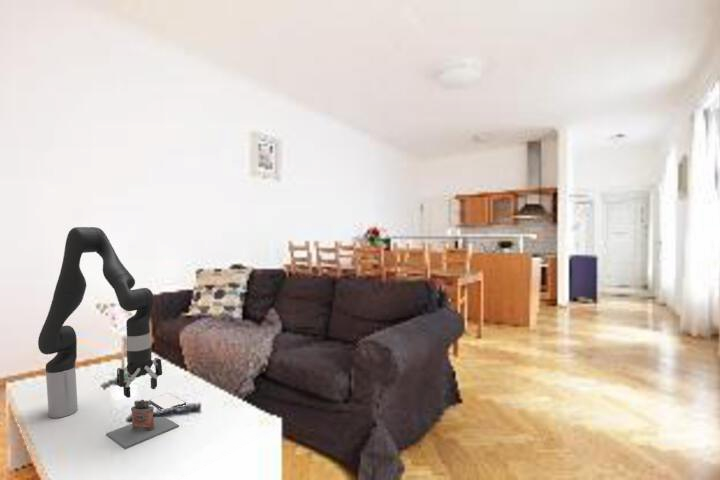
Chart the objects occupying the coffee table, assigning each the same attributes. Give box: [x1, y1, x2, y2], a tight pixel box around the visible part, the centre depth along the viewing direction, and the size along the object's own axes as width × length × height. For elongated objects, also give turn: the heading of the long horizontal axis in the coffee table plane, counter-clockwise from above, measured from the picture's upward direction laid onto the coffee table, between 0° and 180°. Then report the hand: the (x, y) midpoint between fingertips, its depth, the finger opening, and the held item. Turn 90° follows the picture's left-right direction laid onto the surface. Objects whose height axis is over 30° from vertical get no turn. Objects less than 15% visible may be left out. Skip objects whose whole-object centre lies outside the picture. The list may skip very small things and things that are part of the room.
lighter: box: [130, 399, 155, 431], centre depth 147 cm, size 8×3×10 cm, turn 79°
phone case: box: [148, 393, 187, 409], centre depth 169 cm, size 9×2×16 cm
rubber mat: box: [105, 416, 180, 450], centre depth 147 cm, size 15×18×1 cm
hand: (140, 392), depth 146 cm, fingers open, 8 cm apart
